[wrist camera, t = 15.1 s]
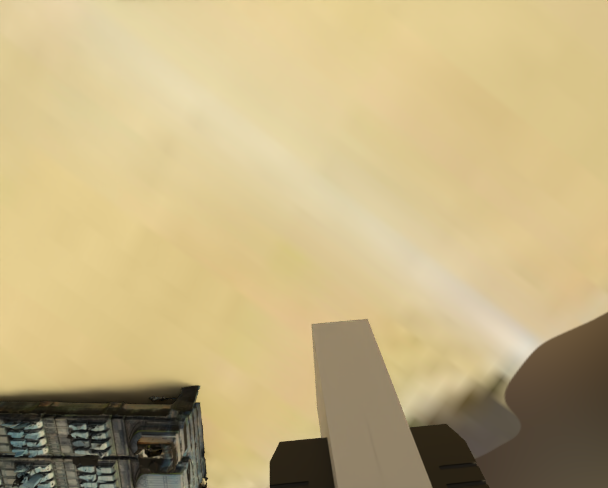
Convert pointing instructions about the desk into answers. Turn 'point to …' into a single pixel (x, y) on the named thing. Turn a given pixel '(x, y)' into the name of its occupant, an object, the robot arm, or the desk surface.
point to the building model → (102, 444)
